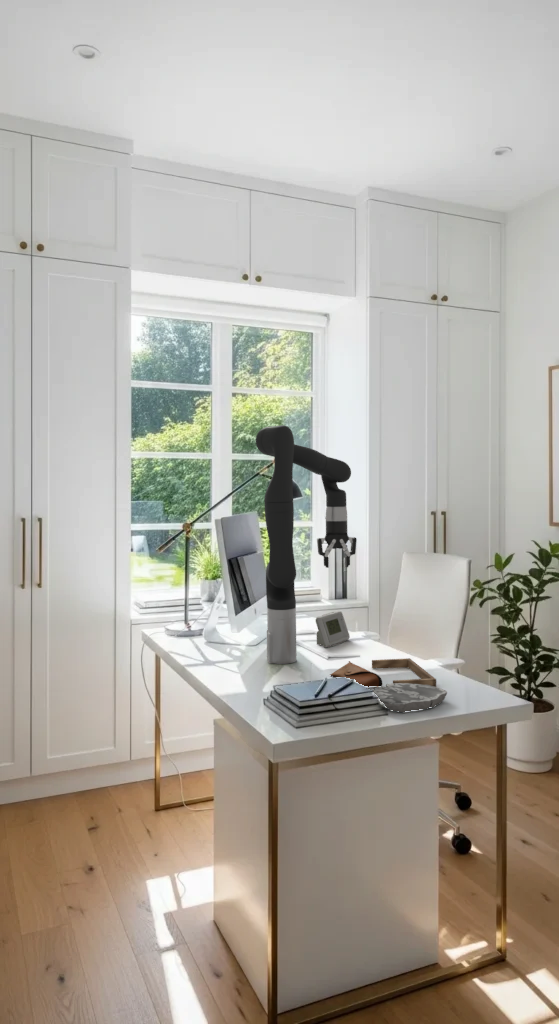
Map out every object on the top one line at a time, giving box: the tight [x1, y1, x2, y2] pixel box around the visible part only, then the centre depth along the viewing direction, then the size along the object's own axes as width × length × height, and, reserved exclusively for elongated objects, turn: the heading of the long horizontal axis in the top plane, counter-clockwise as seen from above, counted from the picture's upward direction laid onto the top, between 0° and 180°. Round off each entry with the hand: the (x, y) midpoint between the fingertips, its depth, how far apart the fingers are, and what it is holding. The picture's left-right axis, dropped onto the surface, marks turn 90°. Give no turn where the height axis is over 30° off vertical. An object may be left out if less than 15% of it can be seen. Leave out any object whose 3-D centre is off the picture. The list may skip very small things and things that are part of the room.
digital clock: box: [315, 610, 350, 648], centre depth 253 cm, size 16×9×11 cm, turn 133°
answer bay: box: [371, 657, 437, 687], centre depth 207 cm, size 12×24×2 cm, turn 7°
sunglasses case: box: [329, 661, 383, 687], centre depth 205 cm, size 18×7×7 cm, turn 24°
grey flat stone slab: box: [372, 682, 448, 712], centre depth 183 cm, size 20×17×3 cm
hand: (337, 567), depth 248 cm, fingers open, 6 cm apart
